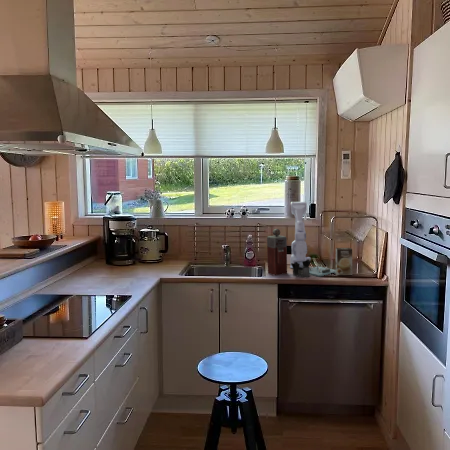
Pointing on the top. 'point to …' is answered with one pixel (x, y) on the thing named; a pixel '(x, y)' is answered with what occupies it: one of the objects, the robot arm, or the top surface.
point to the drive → (302, 272)
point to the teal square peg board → (320, 271)
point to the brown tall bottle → (277, 253)
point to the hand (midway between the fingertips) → (301, 273)
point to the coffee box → (343, 261)
